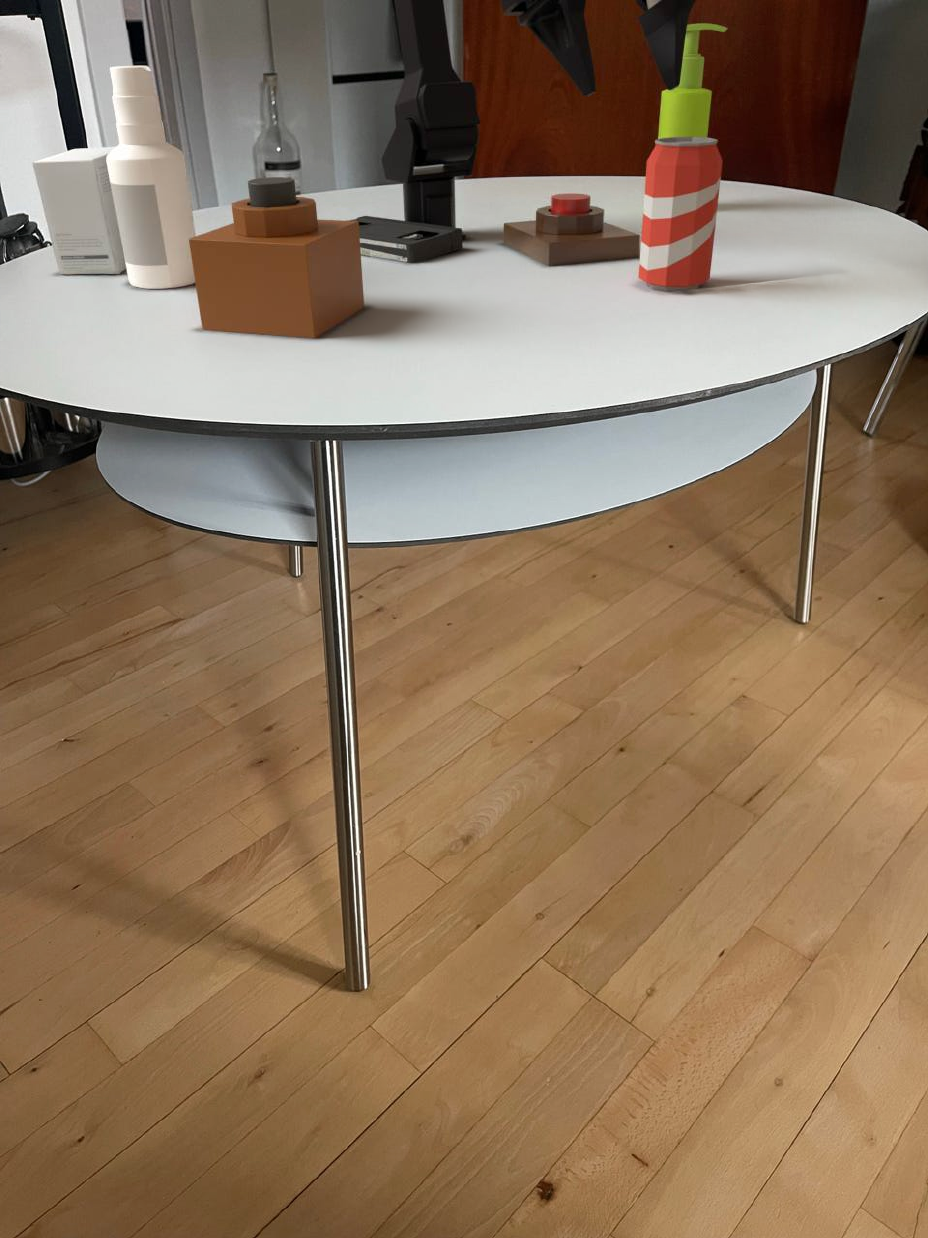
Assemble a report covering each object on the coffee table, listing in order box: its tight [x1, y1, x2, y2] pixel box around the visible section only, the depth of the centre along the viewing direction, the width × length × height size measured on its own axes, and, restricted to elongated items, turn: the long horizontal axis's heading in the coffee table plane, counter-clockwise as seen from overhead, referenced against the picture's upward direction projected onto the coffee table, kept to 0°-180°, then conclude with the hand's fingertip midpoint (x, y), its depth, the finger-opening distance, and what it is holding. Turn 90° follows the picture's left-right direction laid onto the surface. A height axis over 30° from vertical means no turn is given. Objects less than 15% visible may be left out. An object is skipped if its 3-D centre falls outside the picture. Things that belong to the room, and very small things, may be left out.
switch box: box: [503, 205, 641, 267], centre depth 103 cm, size 12×10×4 cm
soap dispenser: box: [657, 22, 728, 139], centre depth 120 cm, size 6×7×20 cm
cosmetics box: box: [31, 146, 127, 275], centre depth 99 cm, size 10×6×10 cm, turn 177°
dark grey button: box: [247, 176, 297, 207], centre depth 77 cm, size 4×4×2 cm
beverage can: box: [638, 137, 724, 293], centre depth 87 cm, size 6×6×12 cm
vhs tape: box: [348, 215, 464, 264], centre depth 106 cm, size 14×8×2 cm, turn 50°
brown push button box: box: [189, 196, 365, 339], centre depth 80 cm, size 10×10×9 cm
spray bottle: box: [106, 65, 197, 290], centre depth 90 cm, size 7×7×18 cm
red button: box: [550, 192, 591, 214], centre depth 102 cm, size 4×4×2 cm
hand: (633, 90), depth 81 cm, fingers open, 9 cm apart
